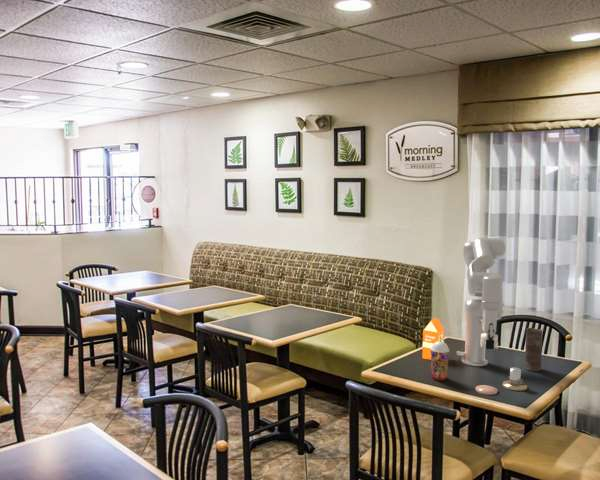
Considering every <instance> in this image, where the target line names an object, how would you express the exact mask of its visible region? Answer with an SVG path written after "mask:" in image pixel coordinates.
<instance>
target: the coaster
mask: <svg viewBox="0 0 600 480" xmlns="http://www.w3.org/2000/svg"><path fill="white" fill-rule="evenodd" d="M475 391H476V392H477V393H479V394H481V395H485V396H486V395H487V396H490V395H491V396H492V395H493V396H494V395H496V394H498V392H499V391H498V388H496V387H494V386H491V385H486V384H480V385H476V386H475Z"/></svg>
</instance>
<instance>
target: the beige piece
mask: <svg viewBox="0 0 600 480" xmlns="http://www.w3.org/2000/svg"><path fill="white" fill-rule="evenodd" d="M509 369H510V370H509V376H507V380H505V381H502V387H503V388H505V389H506V390H510V391H515V392H516V391H517V392H524V391H526V390H528V384H526V383H524V382H523V378H521V376H522V375H521V374H522V369H521V368H519V367H515V366H514V367H510V368H509Z"/></svg>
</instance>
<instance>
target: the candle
mask: <svg viewBox="0 0 600 480" xmlns="http://www.w3.org/2000/svg"><path fill="white" fill-rule="evenodd" d="M542 349H543V329H541V328H534V327H526V328H525V351H524V352H525V353H524V354H525V355H524V367H525V369H527V370H528V371H531V372H539V371H541V370H542V363H543V362H542V357H543V355H542V353H543V350H542Z"/></svg>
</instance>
